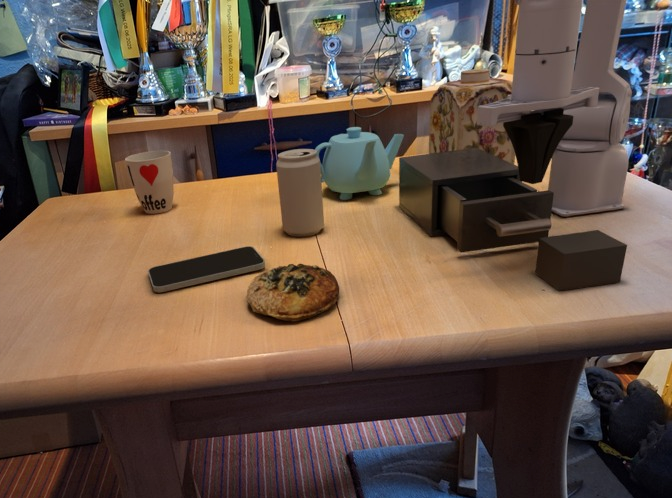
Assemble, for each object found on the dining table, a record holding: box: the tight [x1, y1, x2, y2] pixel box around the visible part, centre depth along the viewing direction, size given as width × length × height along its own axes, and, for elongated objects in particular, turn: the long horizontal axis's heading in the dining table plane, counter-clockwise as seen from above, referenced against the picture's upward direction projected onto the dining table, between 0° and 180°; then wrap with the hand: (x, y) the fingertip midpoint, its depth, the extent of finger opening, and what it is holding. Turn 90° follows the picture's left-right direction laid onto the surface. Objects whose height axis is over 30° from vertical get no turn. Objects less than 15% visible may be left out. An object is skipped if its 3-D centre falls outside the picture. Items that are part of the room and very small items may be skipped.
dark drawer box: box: [437, 176, 554, 253], centre depth 73 cm, size 18×11×6 cm, turn 6°
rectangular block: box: [534, 229, 628, 292], centre depth 62 cm, size 7×5×4 cm
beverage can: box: [275, 148, 325, 238], centre depth 83 cm, size 6×6×12 cm
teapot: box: [314, 126, 405, 201], centre depth 99 cm, size 15×14×11 cm
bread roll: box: [246, 263, 340, 322], centre depth 64 cm, size 11×11×5 cm
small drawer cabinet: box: [398, 148, 523, 238], centre depth 84 cm, size 15×13×8 cm
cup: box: [124, 150, 175, 215], centre depth 102 cm, size 8×8×10 cm
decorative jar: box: [428, 68, 516, 165], centre depth 102 cm, size 12×12×18 cm
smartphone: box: [147, 245, 266, 293], centre depth 75 cm, size 7×1×15 cm
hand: (530, 181), depth 64 cm, fingers closed
